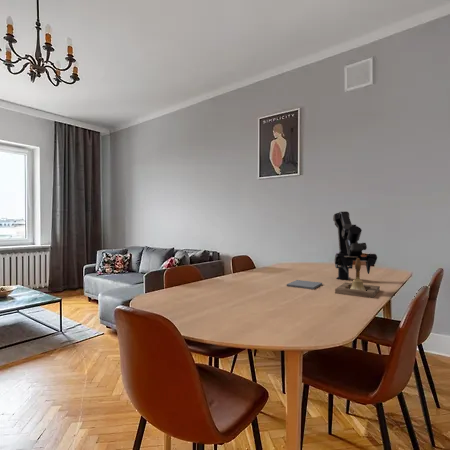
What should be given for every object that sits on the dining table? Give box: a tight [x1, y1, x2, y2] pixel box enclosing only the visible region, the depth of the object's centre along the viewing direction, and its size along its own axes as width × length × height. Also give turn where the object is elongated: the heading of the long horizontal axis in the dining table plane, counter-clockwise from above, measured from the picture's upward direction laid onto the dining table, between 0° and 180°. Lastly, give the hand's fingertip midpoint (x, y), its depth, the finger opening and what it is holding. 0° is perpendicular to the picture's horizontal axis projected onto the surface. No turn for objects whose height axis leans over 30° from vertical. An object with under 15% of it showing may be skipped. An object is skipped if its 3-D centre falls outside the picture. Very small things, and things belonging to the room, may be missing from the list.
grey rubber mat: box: [286, 279, 323, 290], centre depth 162 cm, size 14×14×1 cm
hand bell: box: [350, 258, 366, 291], centre depth 147 cm, size 8×8×16 cm
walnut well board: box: [334, 282, 380, 299], centre depth 147 cm, size 18×16×2 cm
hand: (358, 273), depth 146 cm, fingers open, 9 cm apart
